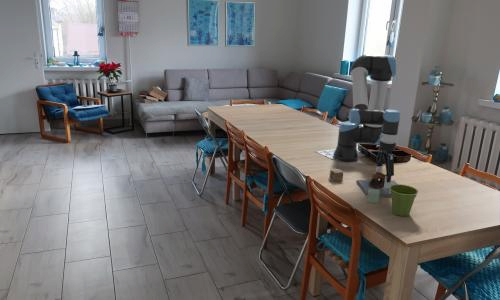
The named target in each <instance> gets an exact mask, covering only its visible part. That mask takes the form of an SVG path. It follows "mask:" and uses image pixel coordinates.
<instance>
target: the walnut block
mask: <svg viewBox="0 0 500 300" xmlns="http://www.w3.org/2000/svg"><path fill="white" fill-rule="evenodd" d="M343 178H344V171H343V170H341V169H340V168H337V169H336V168H334V169H333V168H332V169H331V168H330V171H329V179H330V180H331V181H333V182H342V181H344V180H343Z"/></svg>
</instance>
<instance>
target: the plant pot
mask: <svg viewBox="0 0 500 300" xmlns="http://www.w3.org/2000/svg"><path fill="white" fill-rule="evenodd" d="M390 190H391V211H392V213H393V214H394V215H397V216H399V217H407V216H409V215H410V213H411V211H412V207H413V204H414V202H415V199H416V197H417V195H418V194H419V191H420V190H418V189H417V188H415V187H413V186H410V185H407V184H400V183H399V184H398V183H397V184H396V185H392V186H390Z"/></svg>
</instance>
